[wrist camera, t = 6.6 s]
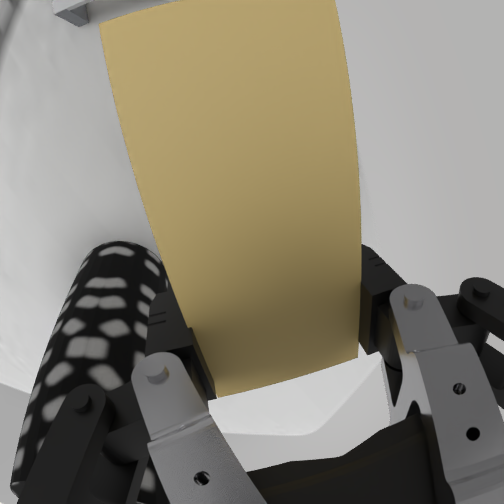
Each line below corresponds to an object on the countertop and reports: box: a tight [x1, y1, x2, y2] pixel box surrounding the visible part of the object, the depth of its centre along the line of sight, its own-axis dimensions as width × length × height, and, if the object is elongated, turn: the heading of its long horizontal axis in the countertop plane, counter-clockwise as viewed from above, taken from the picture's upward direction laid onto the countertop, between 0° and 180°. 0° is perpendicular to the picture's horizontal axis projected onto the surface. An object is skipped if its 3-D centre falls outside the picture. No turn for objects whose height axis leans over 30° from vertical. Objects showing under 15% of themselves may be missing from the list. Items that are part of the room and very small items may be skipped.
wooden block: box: [99, 0, 361, 398], centre depth 9 cm, size 10×4×4 cm, turn 10°
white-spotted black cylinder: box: [10, 241, 170, 504], centre depth 18 cm, size 8×8×20 cm
